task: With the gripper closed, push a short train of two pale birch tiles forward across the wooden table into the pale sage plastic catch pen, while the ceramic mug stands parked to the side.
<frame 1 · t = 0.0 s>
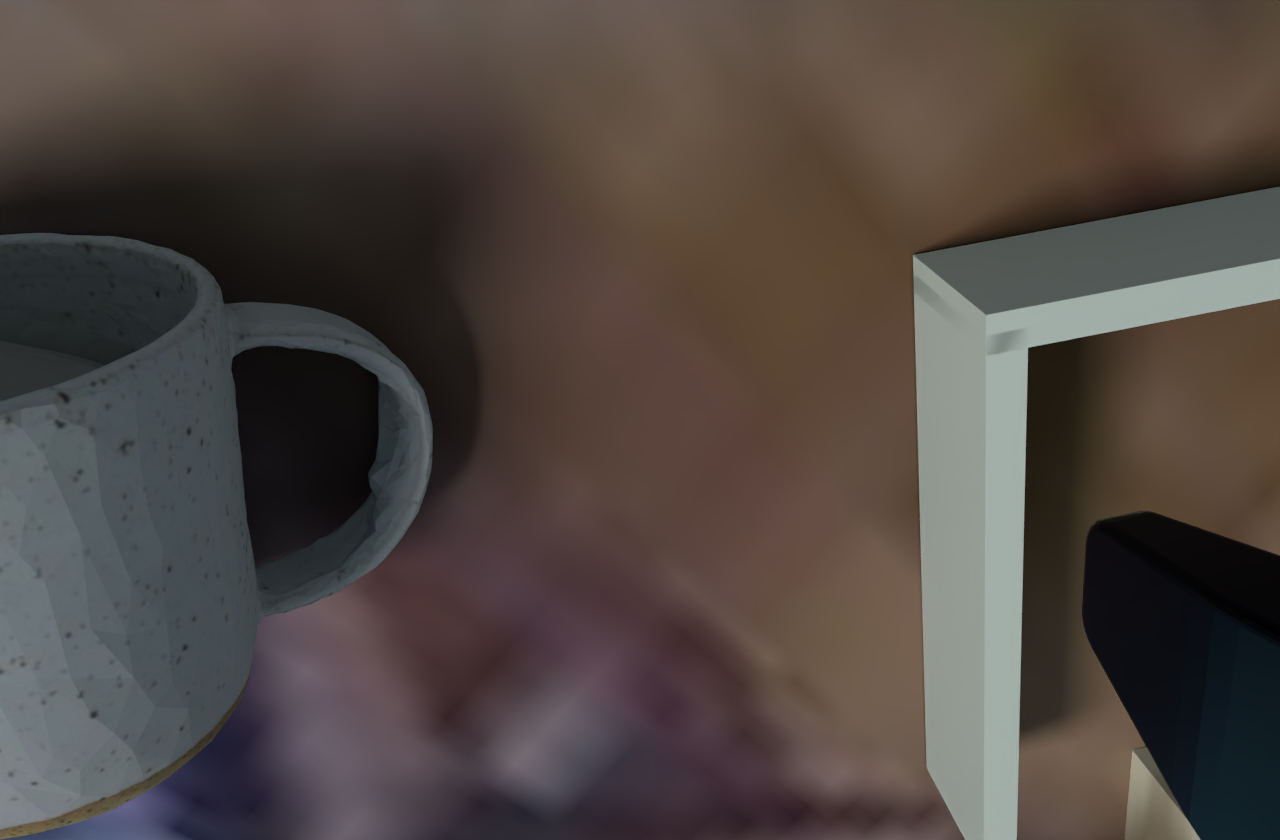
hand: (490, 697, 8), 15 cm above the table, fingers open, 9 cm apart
catch pen: (1252, 481, 27), on the table
ceramic mug: (149, 406, 22), on the table
tile 2: (1205, 791, 32), on the table
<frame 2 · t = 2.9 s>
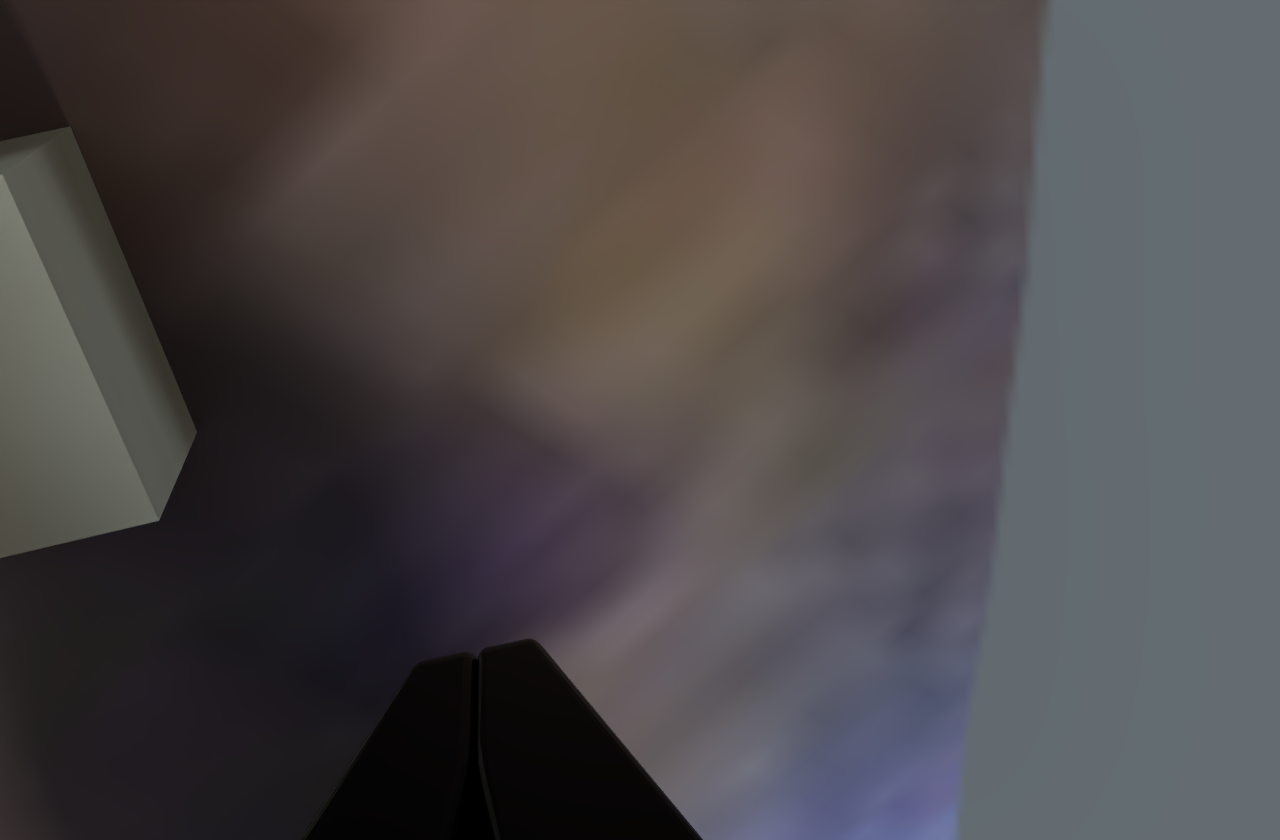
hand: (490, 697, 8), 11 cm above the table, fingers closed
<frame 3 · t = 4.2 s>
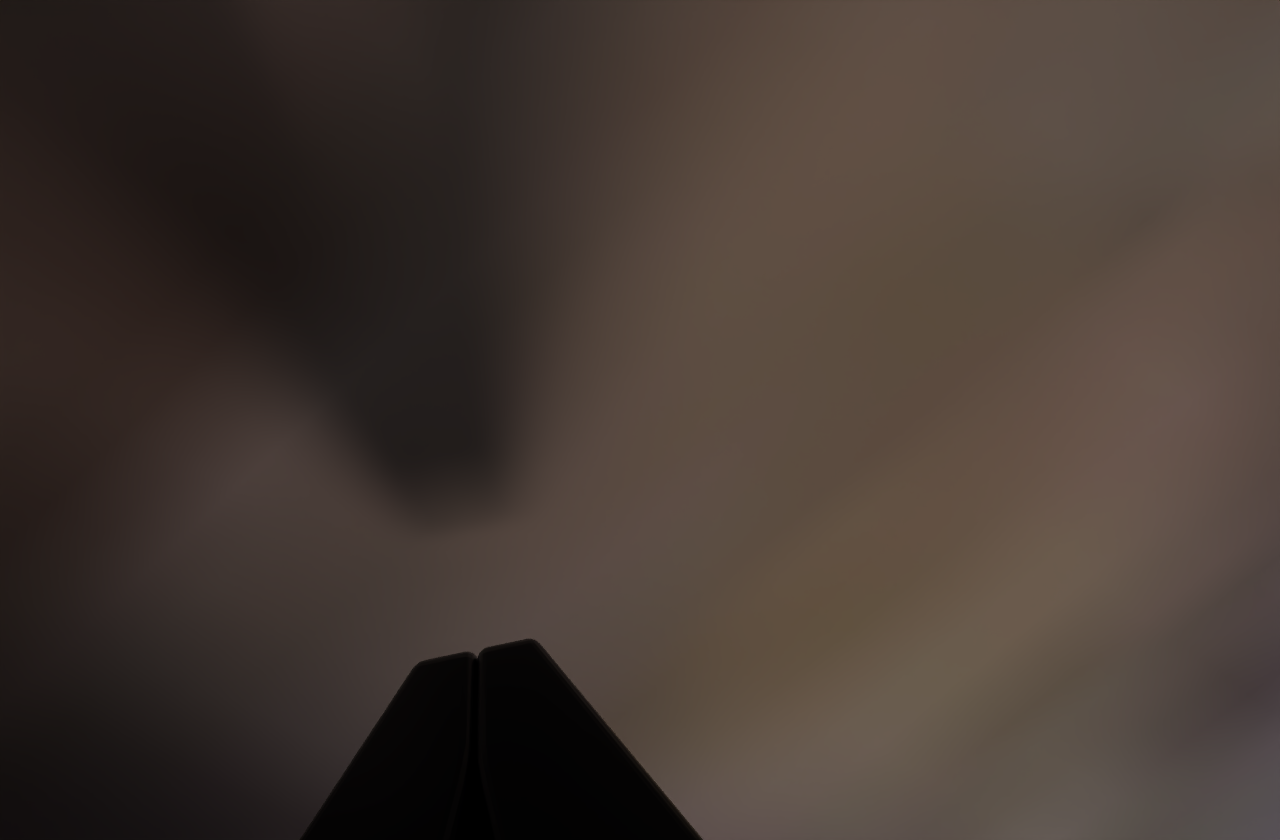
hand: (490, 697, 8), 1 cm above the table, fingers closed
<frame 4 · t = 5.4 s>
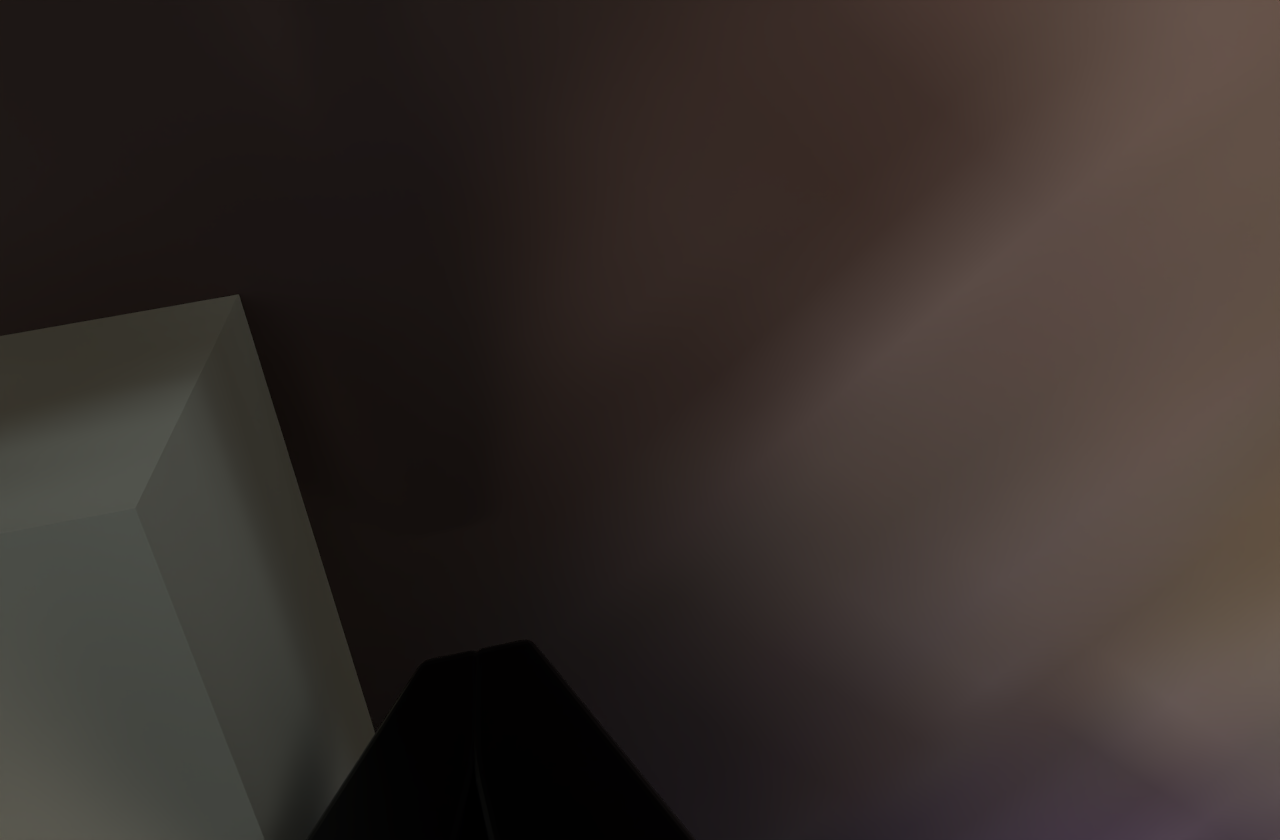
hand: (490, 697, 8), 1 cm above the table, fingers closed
tile 1: (7, 650, 9), on the table, touching gripper, tile 2
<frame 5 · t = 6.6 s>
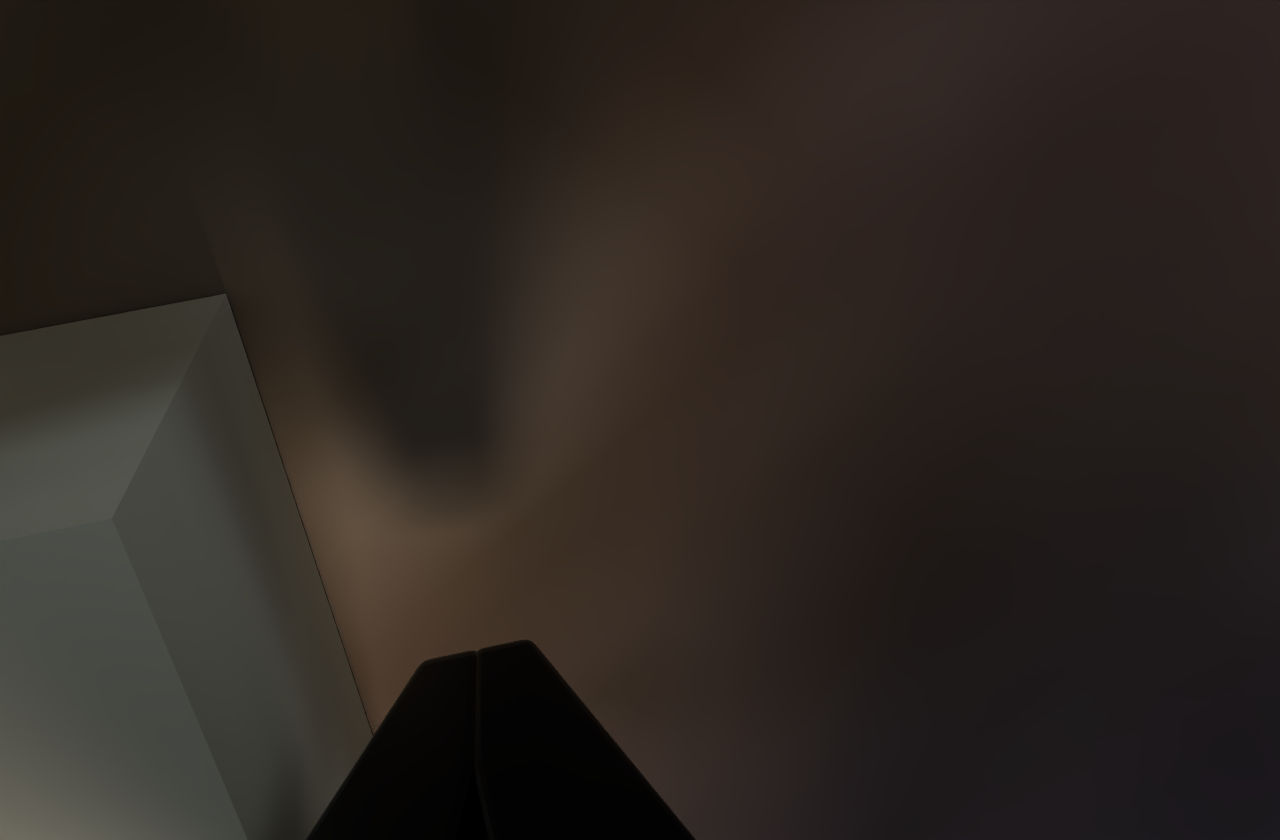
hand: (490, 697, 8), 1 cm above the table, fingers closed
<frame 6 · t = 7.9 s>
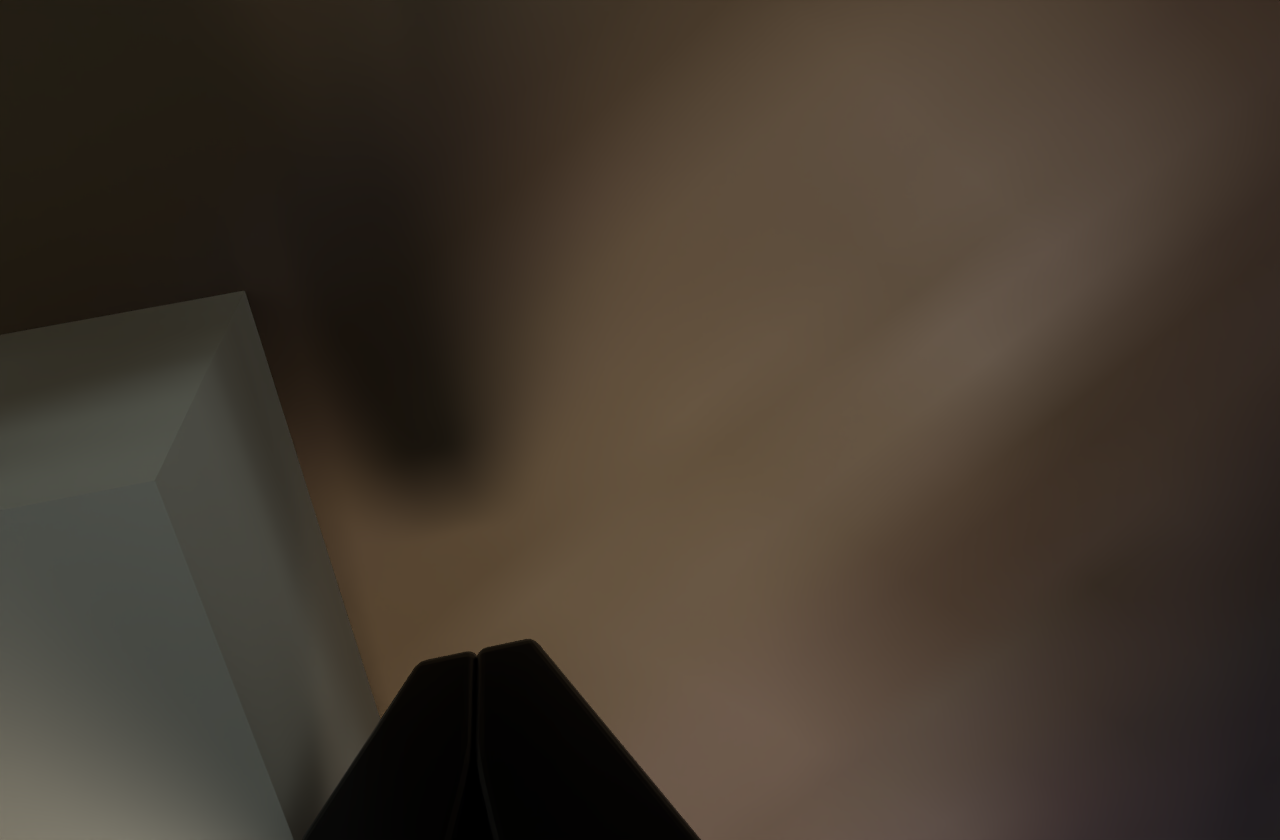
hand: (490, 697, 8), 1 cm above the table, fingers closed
tile 1: (25, 630, 9), on the table
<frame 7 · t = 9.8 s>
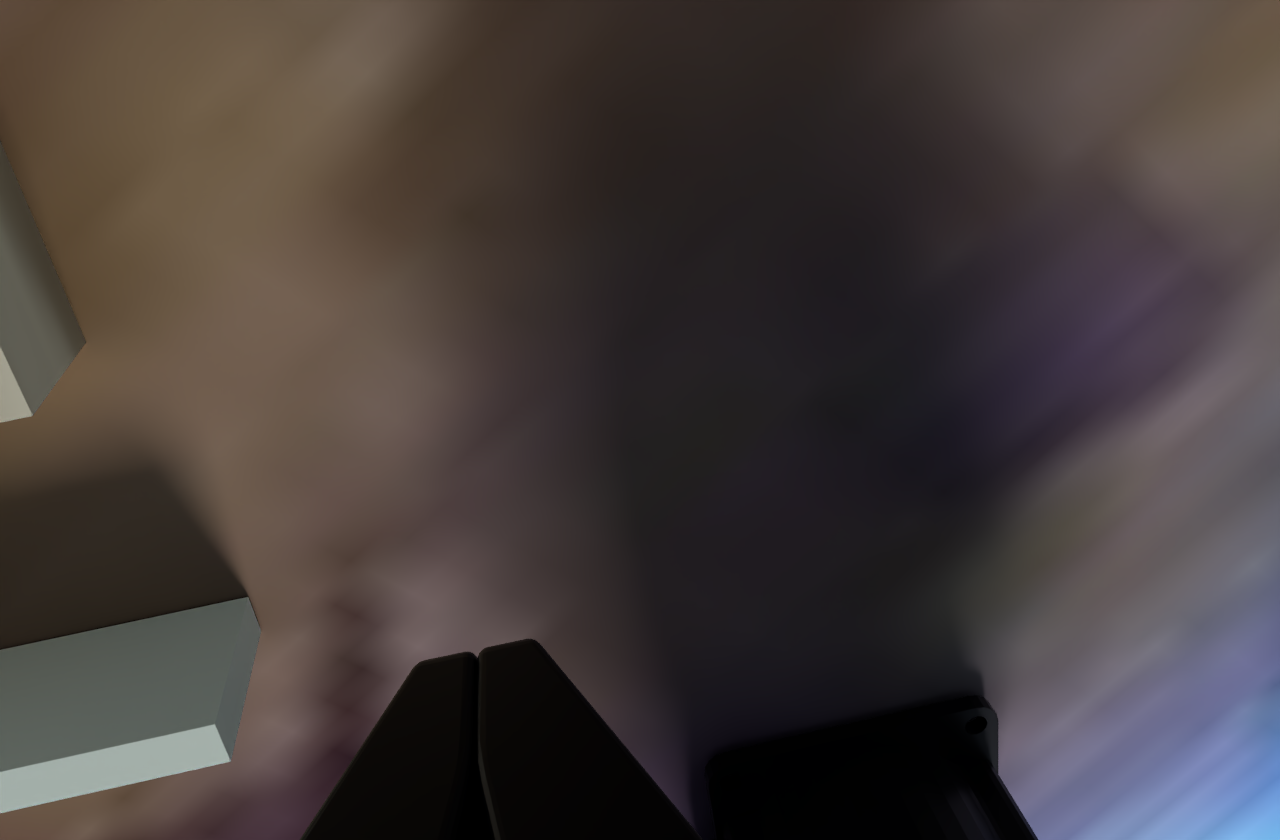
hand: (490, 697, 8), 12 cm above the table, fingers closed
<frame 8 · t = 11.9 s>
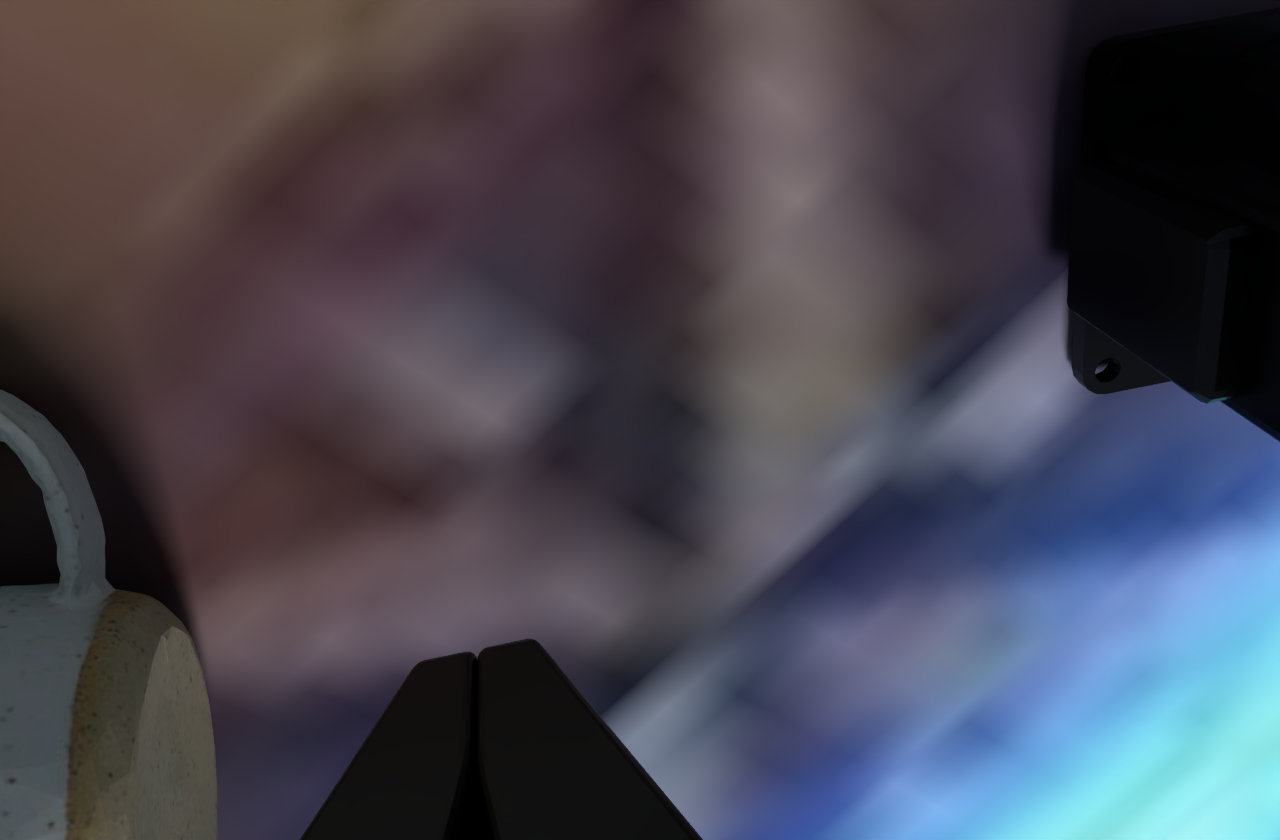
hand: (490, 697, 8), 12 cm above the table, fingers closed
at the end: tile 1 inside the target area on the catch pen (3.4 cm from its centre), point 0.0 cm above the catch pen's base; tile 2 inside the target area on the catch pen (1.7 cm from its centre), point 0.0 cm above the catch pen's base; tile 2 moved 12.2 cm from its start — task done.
